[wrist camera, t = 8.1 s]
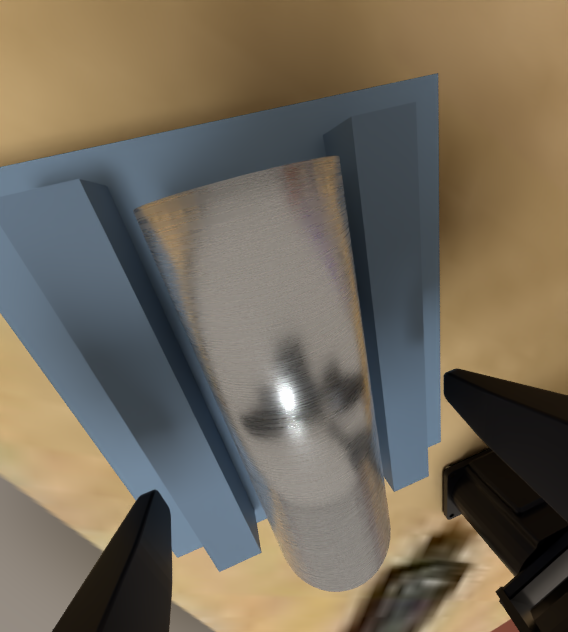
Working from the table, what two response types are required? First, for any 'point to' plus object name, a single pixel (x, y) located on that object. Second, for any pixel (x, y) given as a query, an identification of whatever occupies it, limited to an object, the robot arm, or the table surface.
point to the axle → (284, 354)
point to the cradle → (164, 322)
